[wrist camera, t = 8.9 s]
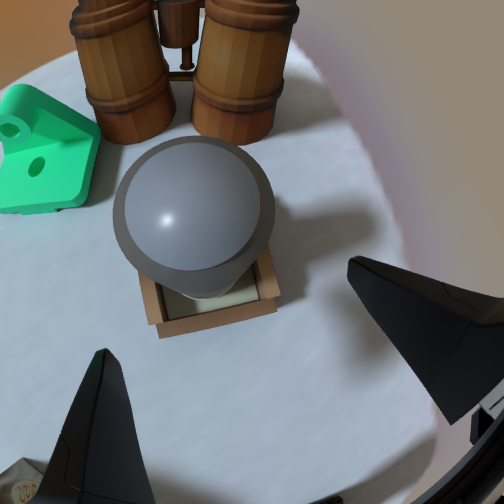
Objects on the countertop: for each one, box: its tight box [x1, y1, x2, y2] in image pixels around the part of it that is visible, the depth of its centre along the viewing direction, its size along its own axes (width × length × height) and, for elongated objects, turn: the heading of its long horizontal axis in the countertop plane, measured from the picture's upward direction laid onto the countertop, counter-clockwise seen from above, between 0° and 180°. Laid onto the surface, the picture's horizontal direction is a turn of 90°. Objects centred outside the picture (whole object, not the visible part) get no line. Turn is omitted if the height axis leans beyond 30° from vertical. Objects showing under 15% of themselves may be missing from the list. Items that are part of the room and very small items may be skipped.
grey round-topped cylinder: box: [113, 136, 275, 300], centre depth 14 cm, size 5×5×13 cm
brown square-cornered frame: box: [138, 244, 281, 339], centre depth 20 cm, size 14×9×3 cm, turn 14°
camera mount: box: [0, 84, 102, 215], centre depth 15 cm, size 12×8×10 cm, turn 92°
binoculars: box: [69, 0, 300, 146], centre depth 14 cm, size 18×8×20 cm, turn 90°
